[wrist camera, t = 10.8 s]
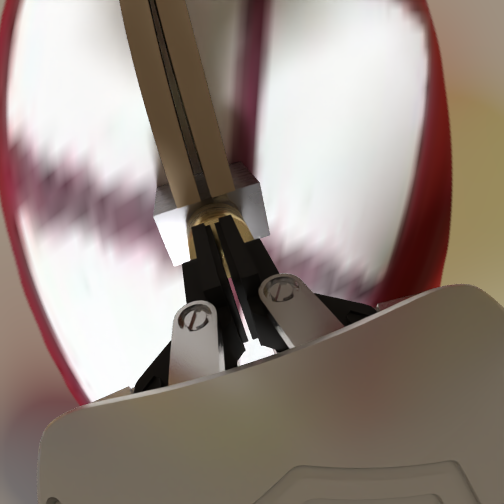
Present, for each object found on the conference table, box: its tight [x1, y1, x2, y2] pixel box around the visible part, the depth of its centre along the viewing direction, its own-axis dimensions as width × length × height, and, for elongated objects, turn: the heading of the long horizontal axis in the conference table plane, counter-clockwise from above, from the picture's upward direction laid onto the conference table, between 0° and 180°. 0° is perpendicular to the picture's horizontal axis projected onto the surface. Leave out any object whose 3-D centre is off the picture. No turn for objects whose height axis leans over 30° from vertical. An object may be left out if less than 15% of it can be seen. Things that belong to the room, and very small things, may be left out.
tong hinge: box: [153, 161, 270, 266], centre depth 15 cm, size 5×3×4 cm, turn 101°
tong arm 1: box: [154, 0, 235, 198], centre depth 9 cm, size 1×16×5 cm, turn 12°
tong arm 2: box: [119, 0, 201, 209], centre depth 8 cm, size 1×16×5 cm, turn 11°
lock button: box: [186, 202, 254, 278], centre depth 13 cm, size 3×3×2 cm
